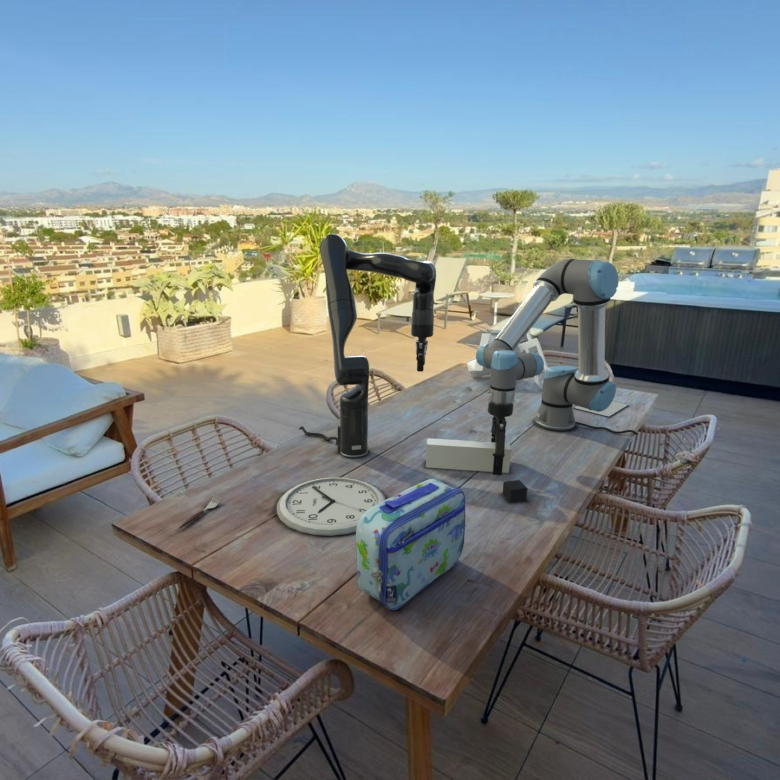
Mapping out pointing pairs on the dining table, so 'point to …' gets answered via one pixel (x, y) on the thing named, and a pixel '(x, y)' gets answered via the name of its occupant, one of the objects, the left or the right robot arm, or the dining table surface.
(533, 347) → the white plastic object
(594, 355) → the right robot arm
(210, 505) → the fork
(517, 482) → the rubber block
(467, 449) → the bar
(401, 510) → the lunch box
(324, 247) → the left robot arm
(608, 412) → the invitation card
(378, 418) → the dining table surface
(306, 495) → the wall clock
